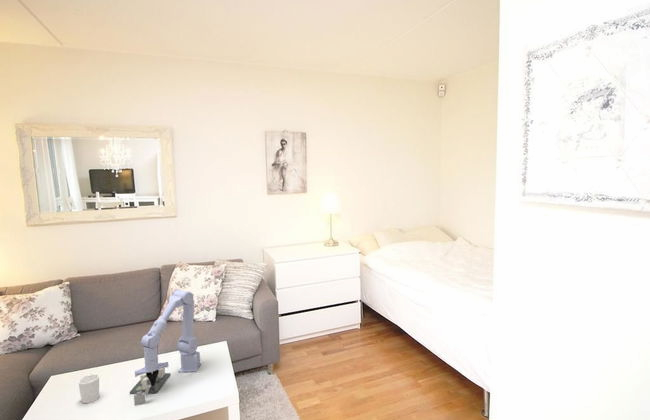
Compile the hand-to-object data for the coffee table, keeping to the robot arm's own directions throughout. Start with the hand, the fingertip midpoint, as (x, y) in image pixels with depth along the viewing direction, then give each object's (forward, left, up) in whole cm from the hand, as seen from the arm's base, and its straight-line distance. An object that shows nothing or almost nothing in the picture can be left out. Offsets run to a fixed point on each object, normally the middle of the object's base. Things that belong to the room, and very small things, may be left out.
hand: (153, 385), depth 163 cm
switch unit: (+4, -5, -3) cm, 7 cm away
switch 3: (+1, -10, -1) cm, 10 cm away
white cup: (+27, +5, -3) cm, 28 cm away
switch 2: (+3, 0, -1) cm, 4 cm away
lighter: (0, +9, -3) cm, 9 cm away
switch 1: (+7, -5, -1) cm, 8 cm away
